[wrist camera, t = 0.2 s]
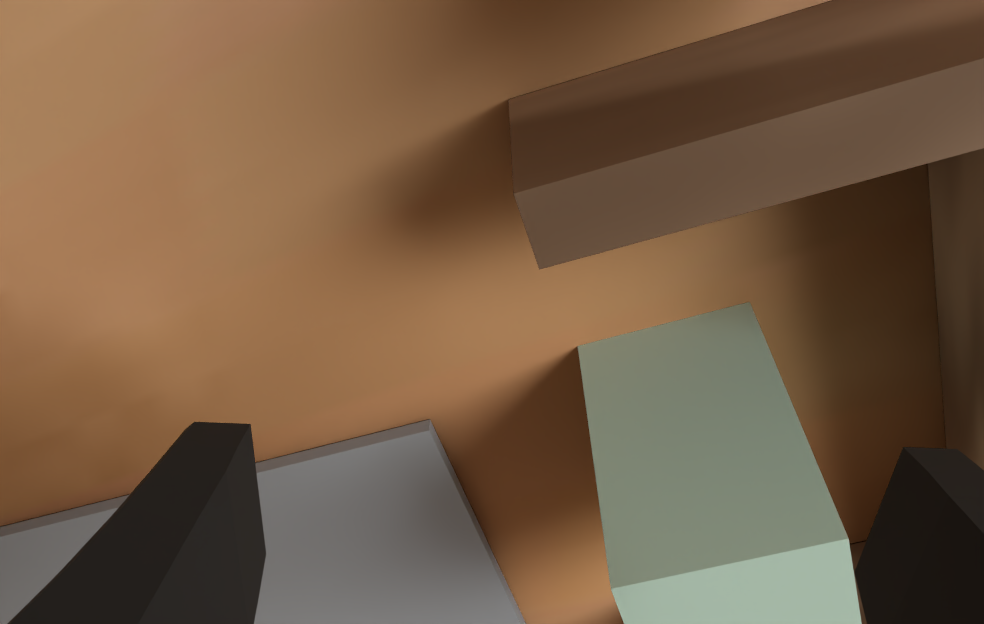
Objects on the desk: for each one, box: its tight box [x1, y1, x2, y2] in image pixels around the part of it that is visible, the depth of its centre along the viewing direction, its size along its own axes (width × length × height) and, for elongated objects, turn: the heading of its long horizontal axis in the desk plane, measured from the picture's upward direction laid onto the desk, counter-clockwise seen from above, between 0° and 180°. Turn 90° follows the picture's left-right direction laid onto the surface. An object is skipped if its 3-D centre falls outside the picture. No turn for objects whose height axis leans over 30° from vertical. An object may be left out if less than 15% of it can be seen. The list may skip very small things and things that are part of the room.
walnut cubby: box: [508, 0, 984, 624], centre depth 20 cm, size 16×9×4 cm, turn 18°
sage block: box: [578, 302, 862, 624], centre depth 20 cm, size 4×4×7 cm
